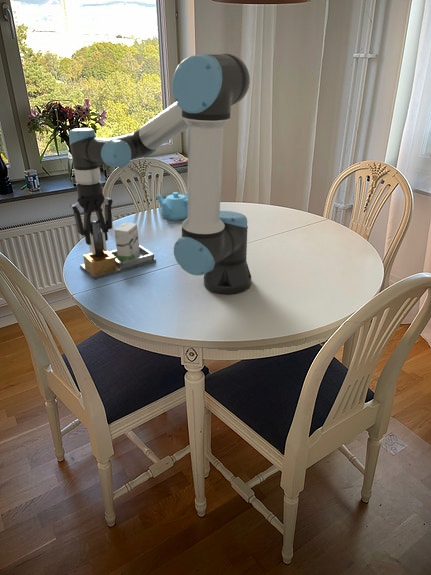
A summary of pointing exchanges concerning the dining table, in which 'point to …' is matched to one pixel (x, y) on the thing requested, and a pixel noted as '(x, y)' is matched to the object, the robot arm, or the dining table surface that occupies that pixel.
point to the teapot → (174, 206)
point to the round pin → (97, 238)
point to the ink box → (127, 241)
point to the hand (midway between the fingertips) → (98, 251)
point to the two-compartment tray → (114, 263)
